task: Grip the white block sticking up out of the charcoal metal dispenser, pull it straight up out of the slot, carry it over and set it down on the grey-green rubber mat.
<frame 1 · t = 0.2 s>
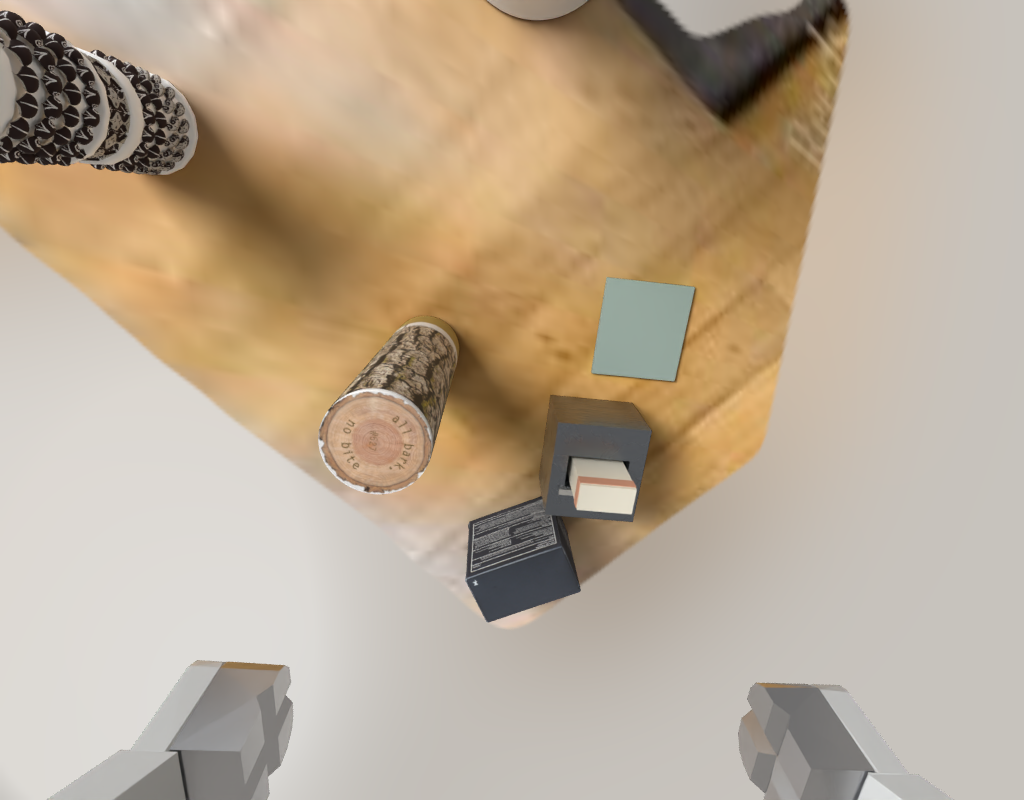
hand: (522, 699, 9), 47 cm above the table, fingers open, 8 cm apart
paper tube: (427, 346, 56), on the table
white block: (588, 452, 57), point 3 cm above the table, touching dispenser
mat: (641, 330, 56), on the table
small box: (518, 527, 63), on the table
decorative candle: (151, 124, 48), on the table
dispenser: (584, 440, 60), on the table
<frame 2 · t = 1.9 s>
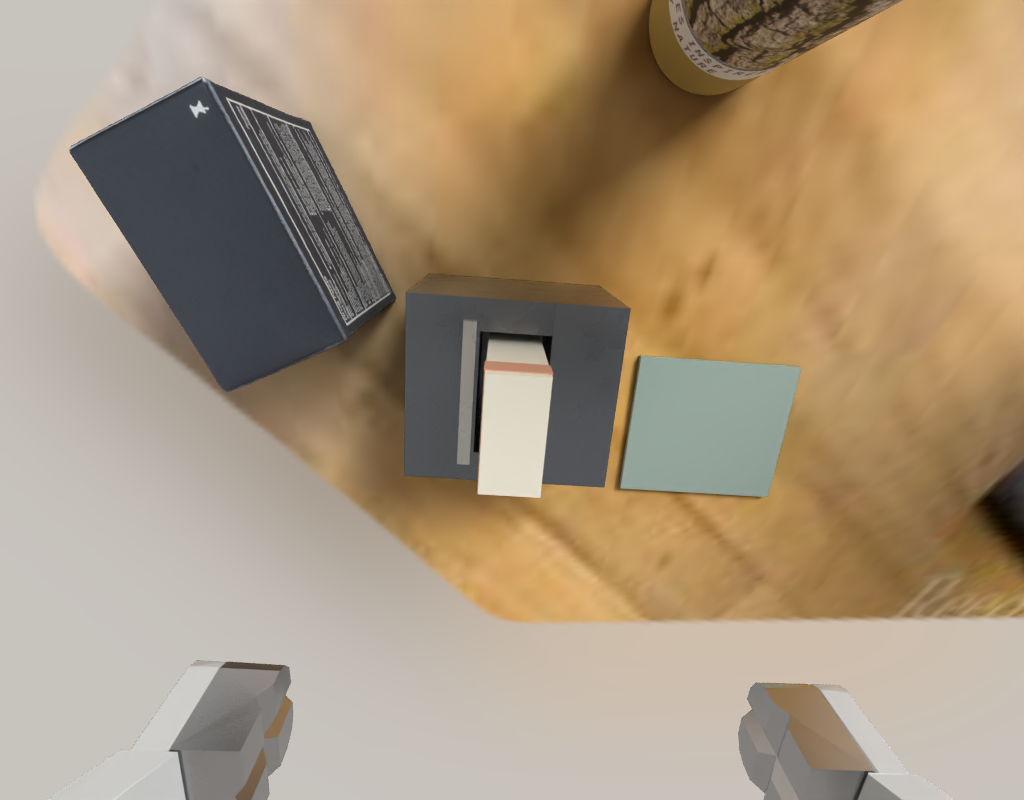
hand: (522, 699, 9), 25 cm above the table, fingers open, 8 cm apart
paper tube: (709, 25, 27), on the table
white block: (510, 367, 30), point 3 cm above the table, touching dispenser
mat: (705, 428, 34), on the table
small box: (307, 237, 31), on the table
dispenser: (509, 354, 33), on the table
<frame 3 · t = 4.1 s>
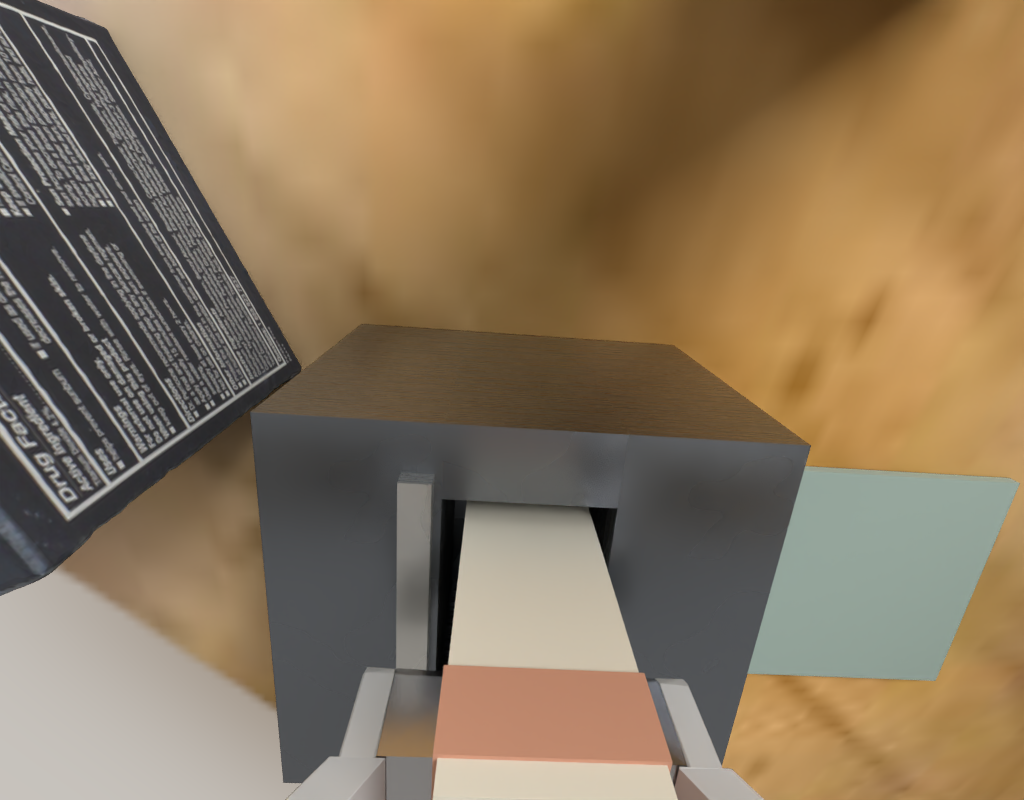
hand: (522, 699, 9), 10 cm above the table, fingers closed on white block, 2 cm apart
white block: (513, 507, 16), point 3 cm above the table, touching dispenser, gripper
mat: (840, 576, 20), on the table
small box: (130, 257, 16), on the table
dispenser: (509, 462, 18), on the table
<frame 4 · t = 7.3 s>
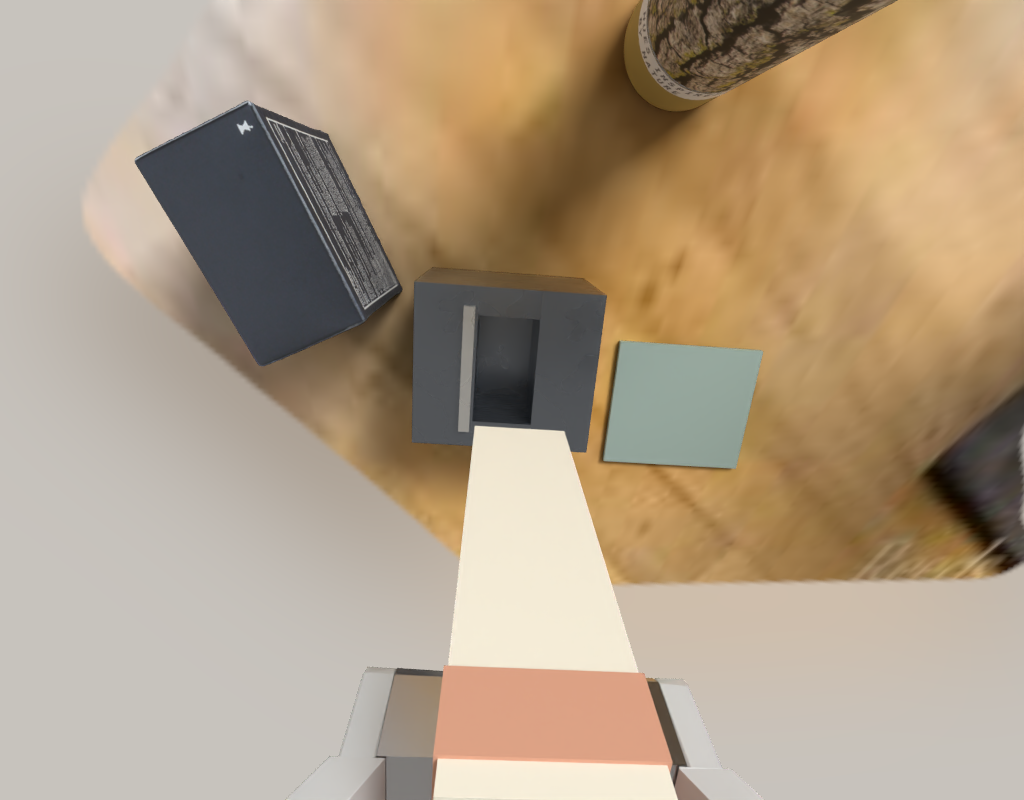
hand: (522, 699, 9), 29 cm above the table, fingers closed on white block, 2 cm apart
paper tube: (677, 50, 31), on the table
white block: (513, 507, 16), point 22 cm above the table, touching gripper
mat: (679, 406, 39), on the table
small box: (324, 234, 34), on the table
dispenser: (503, 339, 37), on the table
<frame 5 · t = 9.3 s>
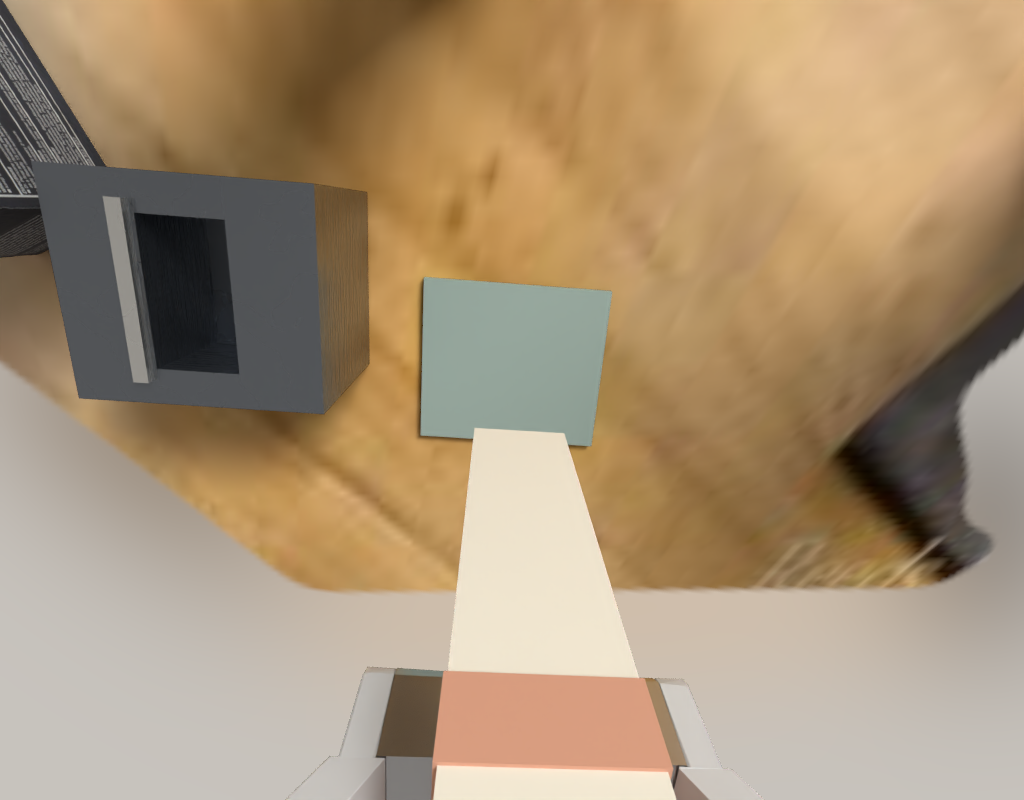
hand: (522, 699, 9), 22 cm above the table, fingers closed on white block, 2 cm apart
white block: (512, 509, 16), point 15 cm above the table, touching gripper
mat: (512, 364, 30), on the table
small box: (18, 131, 26), on the table
dispenser: (273, 275, 28), on the table
when the fingers open (8 cm above the table, at t = 11.0 s): white block drops 1 cm, resting on mat.
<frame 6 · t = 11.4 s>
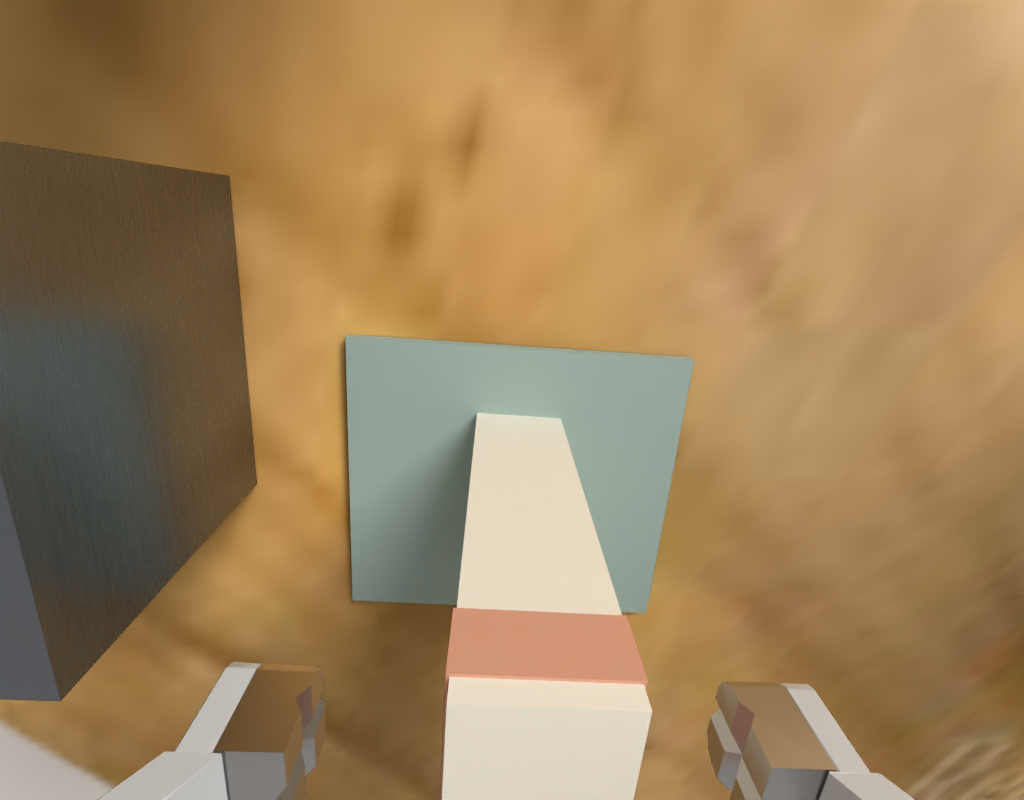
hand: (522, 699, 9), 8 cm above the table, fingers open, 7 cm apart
white block: (512, 490, 17), resting on mat
mat: (510, 483, 17), on the table
dispenser: (64, 332, 15), on the table
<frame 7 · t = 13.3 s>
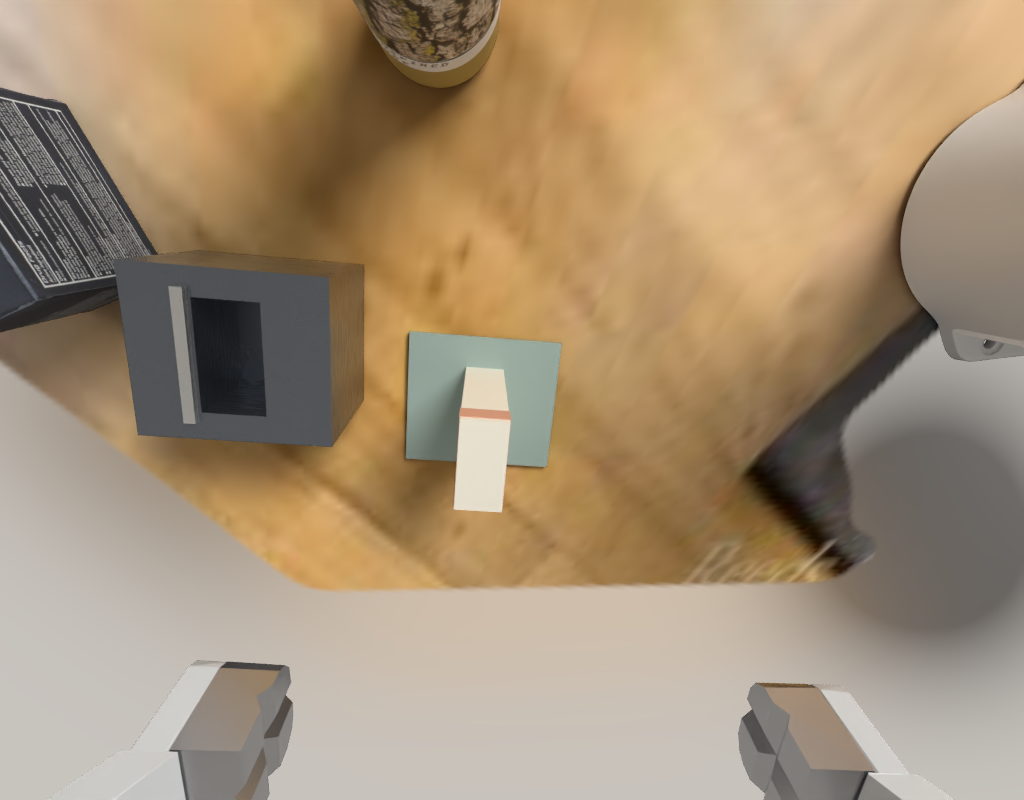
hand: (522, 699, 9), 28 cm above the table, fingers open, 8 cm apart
paper tube: (438, 23, 30), on the table
white block: (482, 403, 36), resting on mat
mat: (481, 401, 37), on the table
small box: (78, 213, 32), on the table
dispenser: (285, 329, 35), on the table
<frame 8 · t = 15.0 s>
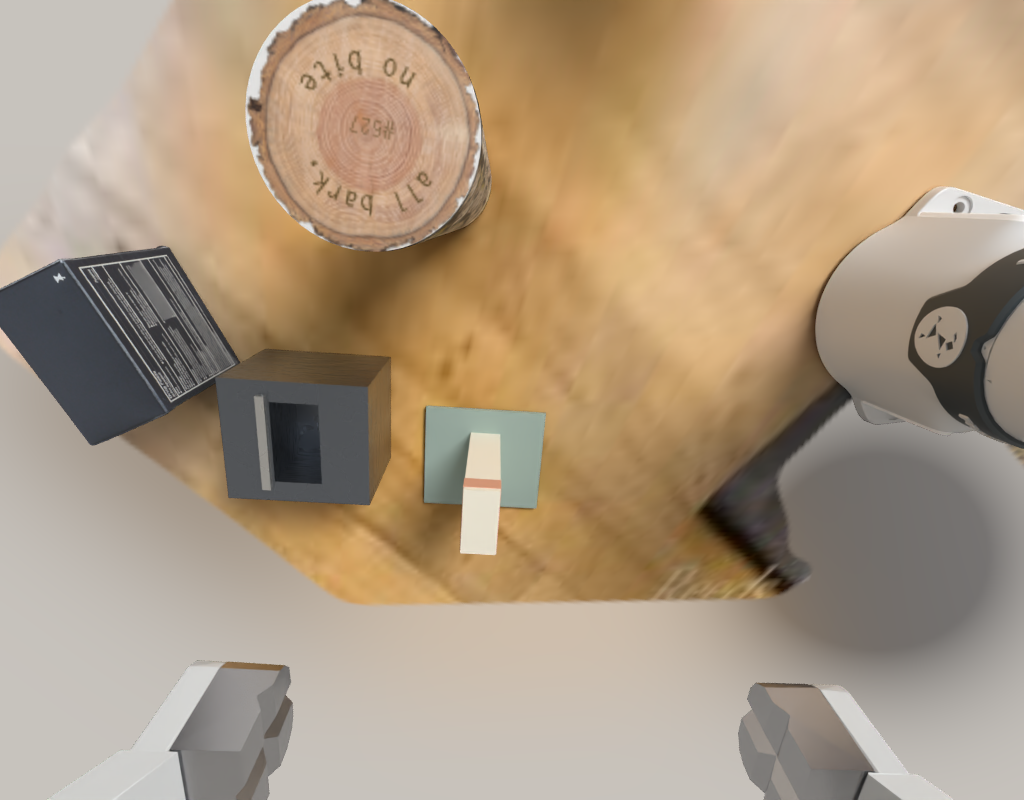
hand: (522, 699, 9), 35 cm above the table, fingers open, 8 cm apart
paper tube: (445, 182, 39), on the table
white block: (483, 460, 46), resting on mat
mat: (483, 457, 46), on the table
small box: (175, 323, 42), on the table
dispenser: (330, 405, 45), on the table
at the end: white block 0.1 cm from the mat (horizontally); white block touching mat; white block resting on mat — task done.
